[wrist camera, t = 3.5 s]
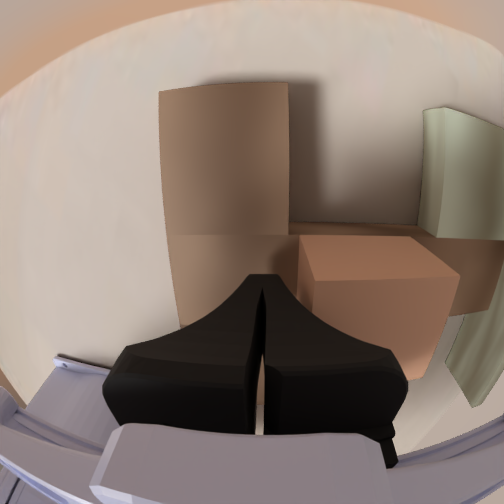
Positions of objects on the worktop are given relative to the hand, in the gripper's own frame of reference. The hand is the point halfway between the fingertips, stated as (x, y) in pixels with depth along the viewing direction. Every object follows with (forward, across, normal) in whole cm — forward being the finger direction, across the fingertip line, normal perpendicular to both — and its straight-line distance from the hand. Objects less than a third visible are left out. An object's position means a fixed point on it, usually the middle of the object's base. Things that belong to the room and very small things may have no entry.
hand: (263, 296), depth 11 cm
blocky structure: (+3, -6, 0) cm, 6 cm away
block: (+1, -4, 0) cm, 4 cm away
